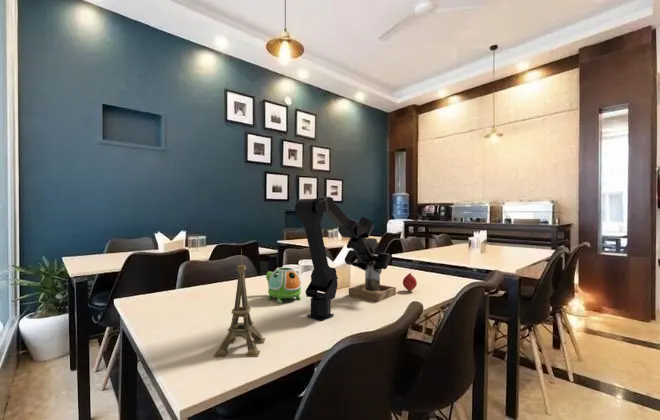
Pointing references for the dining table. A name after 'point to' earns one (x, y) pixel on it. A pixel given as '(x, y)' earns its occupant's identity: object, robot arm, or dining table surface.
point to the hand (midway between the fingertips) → (374, 271)
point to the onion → (409, 282)
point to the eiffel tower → (241, 328)
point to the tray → (372, 292)
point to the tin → (371, 277)
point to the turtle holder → (283, 284)
